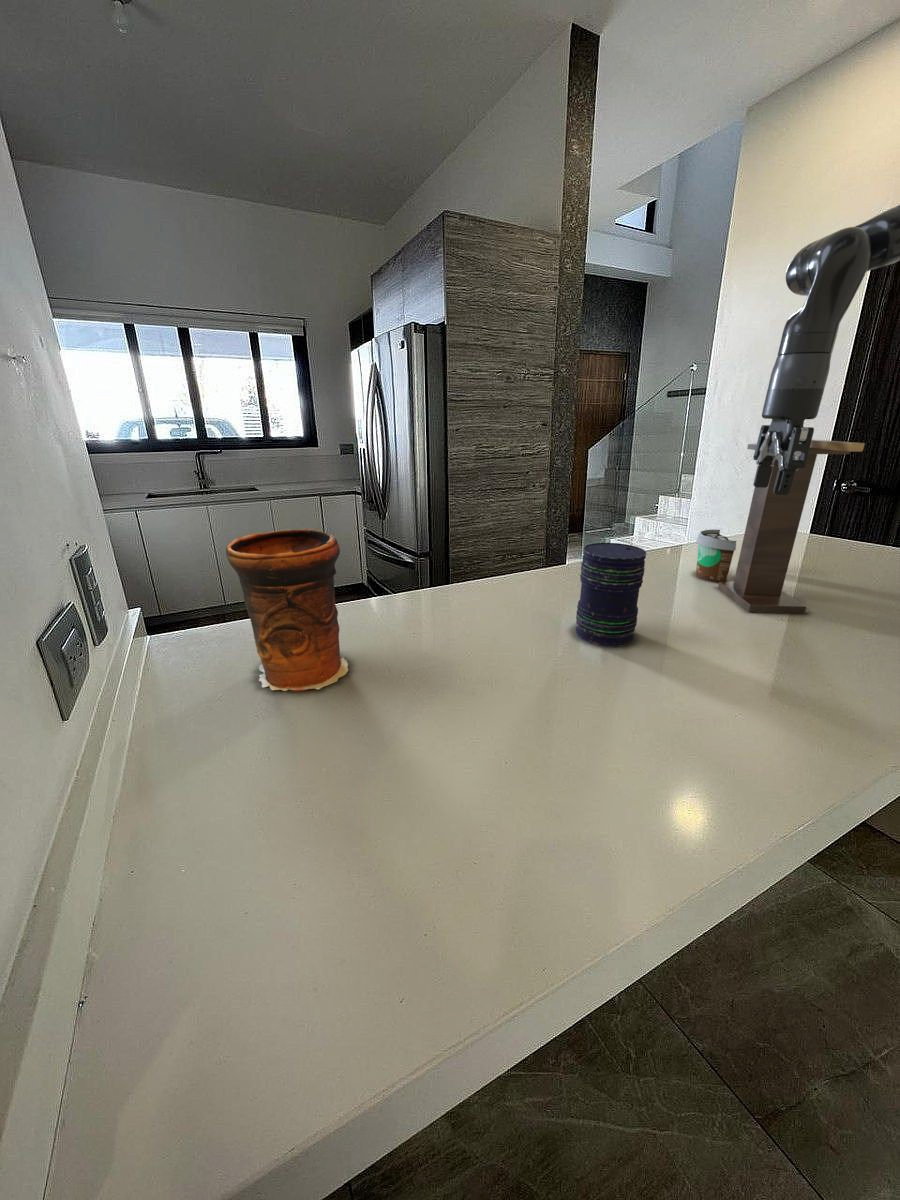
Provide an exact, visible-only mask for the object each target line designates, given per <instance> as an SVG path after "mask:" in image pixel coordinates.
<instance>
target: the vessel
mask: <svg viewBox="0 0 900 1200" xmlns="http://www.w3.org/2000/svg"><path fill="white" fill-rule="evenodd" d="M340 552H341V549H340V545H339V542H338V540H337V538H336V537H335V536H334V535H333V534H330V533H328V532H325V531H323V530H320V529H311V528H310V529H309V528H299V529H281V530H280V529H279V530H275V531H274V530H273V531H269V532H260V533H253V534H248V535H245V536H239V537H237V538H235V539H233V540H232V541H231V542H230V543H229V544H228V545H226V548H225V554H226V558H227V561H228V563H229V565H230V566H231V568H233V570H234V571H235V572H236V575H237V576H238V581H239V583H240V584H239V585H240V587H241V590H242V595H243V601H244V605H245V608H246V611H247V614H248V617H249V620H250V625H251V629H252V632H253V636H254V637H253V638H254V644H255V647H256V653H257V654H258V657H259V658H260V661H261V663H260V664H259V666H258V669H259V671H260V672H261V674H259V675H258V676H259V678H258V681H259V682H261V688H267V687H269V689H270V690H271V691H280V690H281V691H283V692H286V691H288V690H291V691H297V692H299V691H307V690H320V689H321V690H322V688H323V687H327V686H329V685H332V684H334V683H337V682H338V680H339V678H342V677H344V676H345V675H347V673H348V671H349V663H348V661H347V659H345V658H344V656H341V650H340V649H341V647H340V624H339V621H338V617H339V610H338V608H337V605H336V595H335V594H336V591H335V589H336V588H335V579H334V578H335V575H336V574H337V570H336V562H337V561H338V559H339V558H340V557H339V556H340V555H341V553H340Z"/></svg>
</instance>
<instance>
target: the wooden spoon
mask: <svg viewBox="0 0 900 1200" xmlns="http://www.w3.org/2000/svg"><path fill="white" fill-rule="evenodd" d="M865 445H866V443H865V442H854V441H841V440H828V439H827V440H825V439H813V438H812V441H811V445H810V448H819V449H830V450H840V451H850V453H851V452H854V453H856V452H858V453H861V452H863V451H864V449H865Z"/></svg>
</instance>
